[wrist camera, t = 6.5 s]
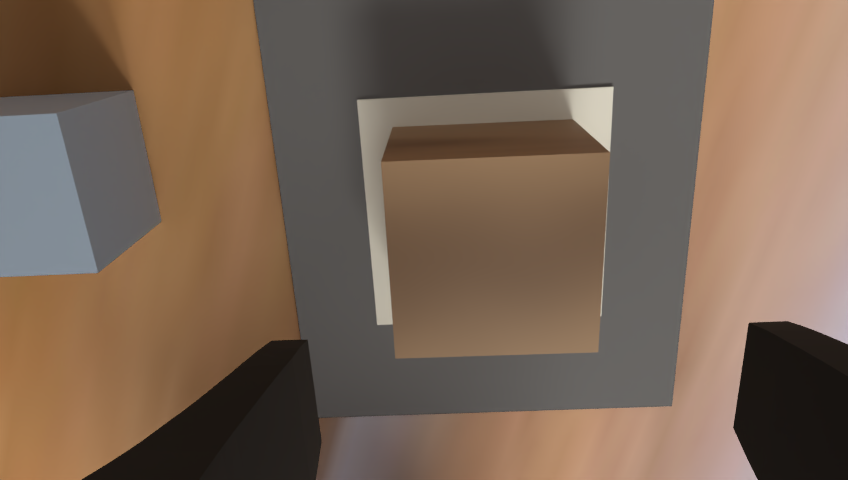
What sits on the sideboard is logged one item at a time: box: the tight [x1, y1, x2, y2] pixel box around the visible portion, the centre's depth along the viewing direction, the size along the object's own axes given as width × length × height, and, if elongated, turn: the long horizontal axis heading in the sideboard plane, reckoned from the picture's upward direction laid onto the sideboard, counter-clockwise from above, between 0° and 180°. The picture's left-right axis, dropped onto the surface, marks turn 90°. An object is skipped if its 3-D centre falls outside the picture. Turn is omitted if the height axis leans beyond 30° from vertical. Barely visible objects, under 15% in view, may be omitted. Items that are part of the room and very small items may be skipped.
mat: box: [253, 0, 714, 418], centre depth 19 cm, size 14×12×1 cm
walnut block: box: [381, 119, 610, 359], centre depth 17 cm, size 5×5×4 cm
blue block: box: [0, 90, 161, 277], centre depth 17 cm, size 4×4×4 cm
